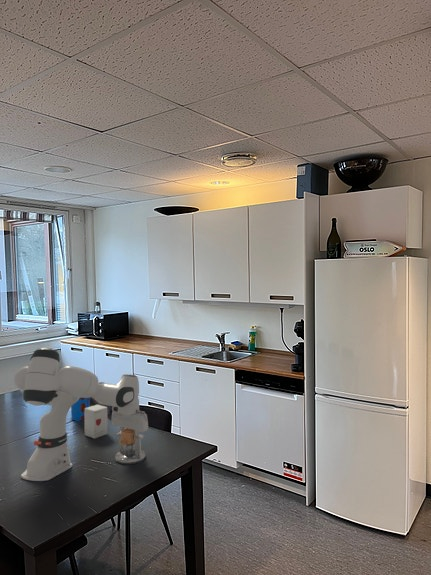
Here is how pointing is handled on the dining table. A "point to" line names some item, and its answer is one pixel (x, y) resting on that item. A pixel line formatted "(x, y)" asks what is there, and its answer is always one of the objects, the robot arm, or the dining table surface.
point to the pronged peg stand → (130, 451)
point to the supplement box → (96, 421)
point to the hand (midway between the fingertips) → (129, 437)
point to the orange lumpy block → (127, 436)
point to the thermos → (80, 409)
